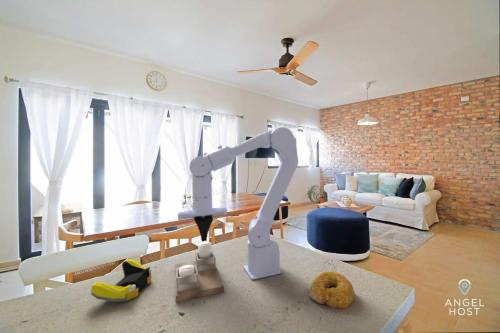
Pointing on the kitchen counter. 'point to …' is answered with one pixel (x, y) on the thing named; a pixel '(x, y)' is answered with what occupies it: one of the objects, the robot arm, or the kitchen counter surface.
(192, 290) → the knob board
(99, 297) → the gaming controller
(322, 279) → the bagel
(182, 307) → the kitchen counter surface
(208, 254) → the knob right
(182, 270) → the knob left
